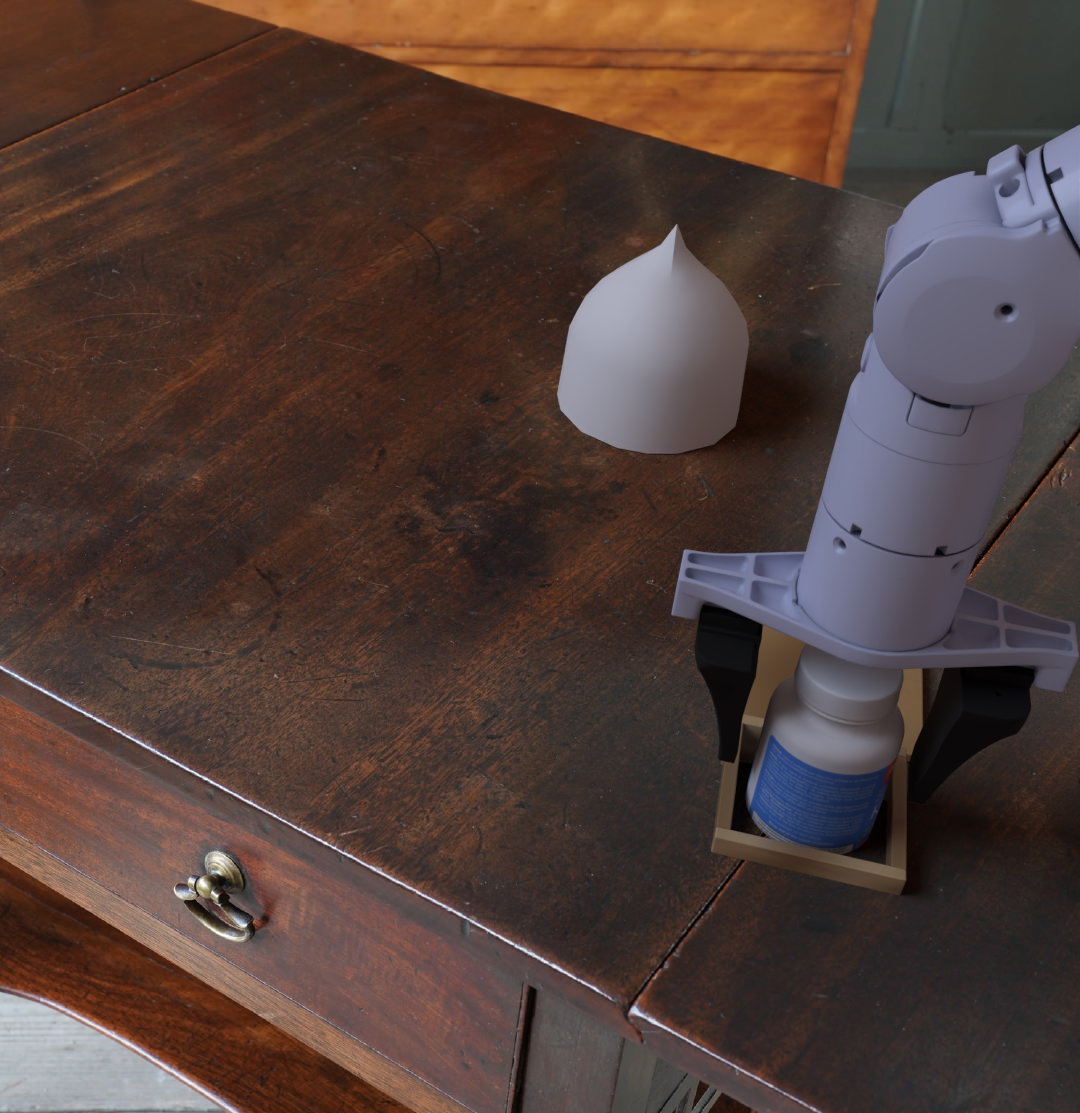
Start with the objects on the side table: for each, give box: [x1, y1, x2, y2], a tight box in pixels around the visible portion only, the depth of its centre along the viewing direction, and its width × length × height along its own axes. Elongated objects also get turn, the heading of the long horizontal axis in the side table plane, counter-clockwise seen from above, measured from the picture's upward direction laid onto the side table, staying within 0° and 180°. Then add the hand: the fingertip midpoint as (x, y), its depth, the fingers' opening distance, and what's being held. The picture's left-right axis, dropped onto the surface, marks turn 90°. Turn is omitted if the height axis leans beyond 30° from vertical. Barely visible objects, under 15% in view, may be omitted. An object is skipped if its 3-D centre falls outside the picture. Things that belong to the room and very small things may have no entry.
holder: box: [710, 714, 908, 896], centre depth 63 cm, size 8×8×2 cm
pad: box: [744, 625, 924, 763], centre depth 71 cm, size 9×10×1 cm
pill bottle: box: [744, 644, 905, 855], centre depth 61 cm, size 6×5×10 cm
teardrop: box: [556, 223, 750, 455], centre depth 86 cm, size 11×11×12 cm
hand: (820, 765), depth 61 cm, fingers open, 7 cm apart
